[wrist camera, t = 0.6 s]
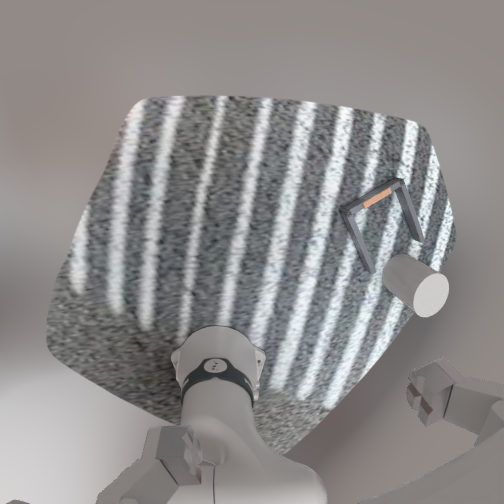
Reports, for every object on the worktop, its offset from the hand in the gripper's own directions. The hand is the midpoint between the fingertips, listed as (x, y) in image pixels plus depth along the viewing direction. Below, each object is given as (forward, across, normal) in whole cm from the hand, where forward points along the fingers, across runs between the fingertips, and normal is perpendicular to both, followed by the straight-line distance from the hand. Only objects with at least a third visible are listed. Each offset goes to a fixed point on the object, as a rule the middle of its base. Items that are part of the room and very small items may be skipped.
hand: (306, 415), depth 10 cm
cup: (+44, +29, -16) cm, 55 cm away
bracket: (+44, +25, -6) cm, 51 cm away
